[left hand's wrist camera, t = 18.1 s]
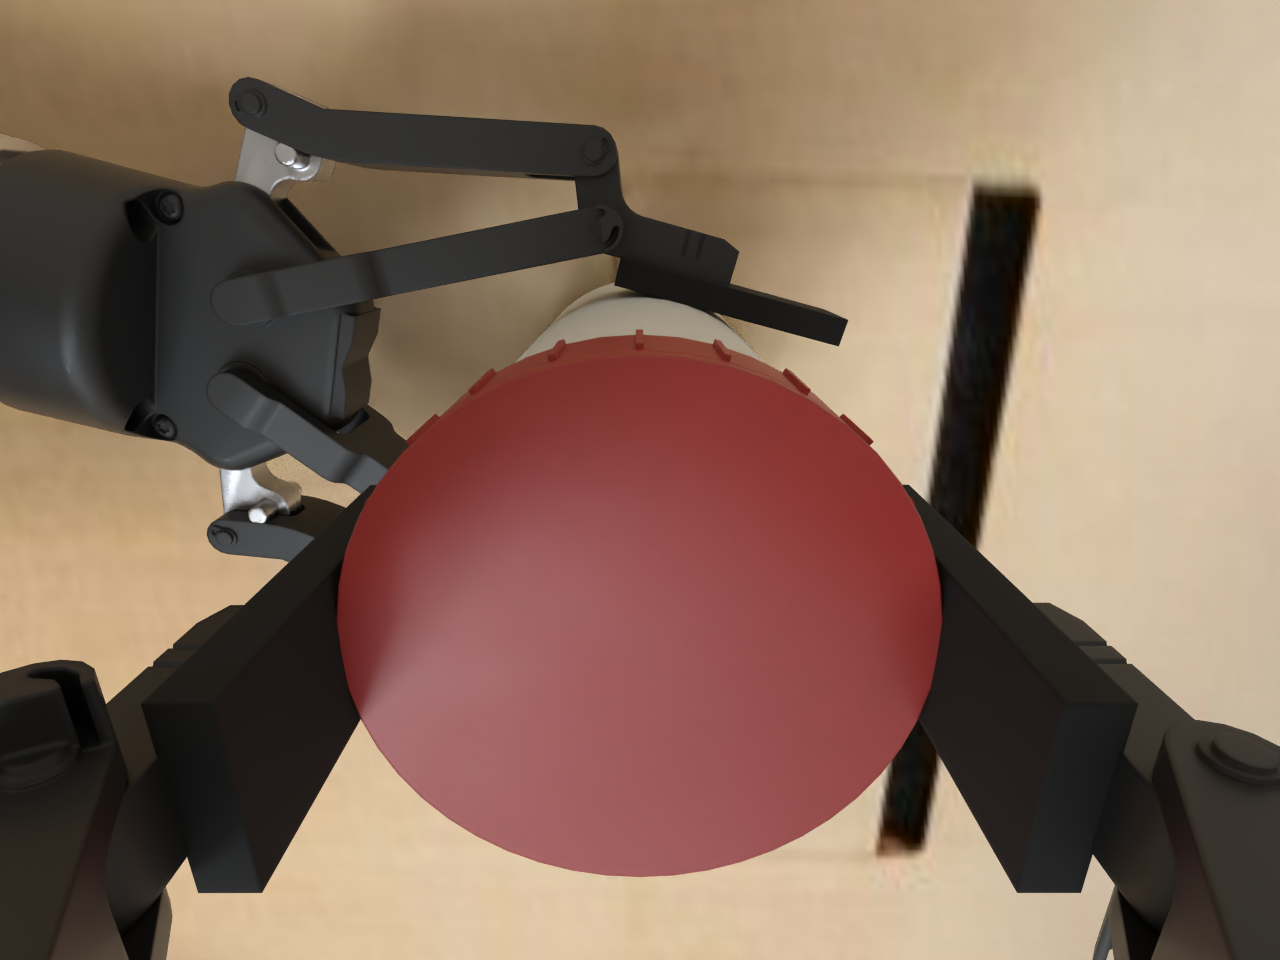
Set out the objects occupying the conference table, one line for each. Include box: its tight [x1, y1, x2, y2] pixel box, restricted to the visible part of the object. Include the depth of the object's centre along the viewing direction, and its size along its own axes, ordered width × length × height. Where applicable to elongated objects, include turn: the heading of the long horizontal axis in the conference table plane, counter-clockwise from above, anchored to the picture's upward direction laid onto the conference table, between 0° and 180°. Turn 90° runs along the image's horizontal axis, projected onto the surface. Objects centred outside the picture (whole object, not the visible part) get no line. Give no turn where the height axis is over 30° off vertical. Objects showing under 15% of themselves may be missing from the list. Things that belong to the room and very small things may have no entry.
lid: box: [337, 329, 943, 877], centre depth 11 cm, size 9×9×2 cm
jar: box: [515, 282, 766, 364], centre depth 19 cm, size 8×8×17 cm
